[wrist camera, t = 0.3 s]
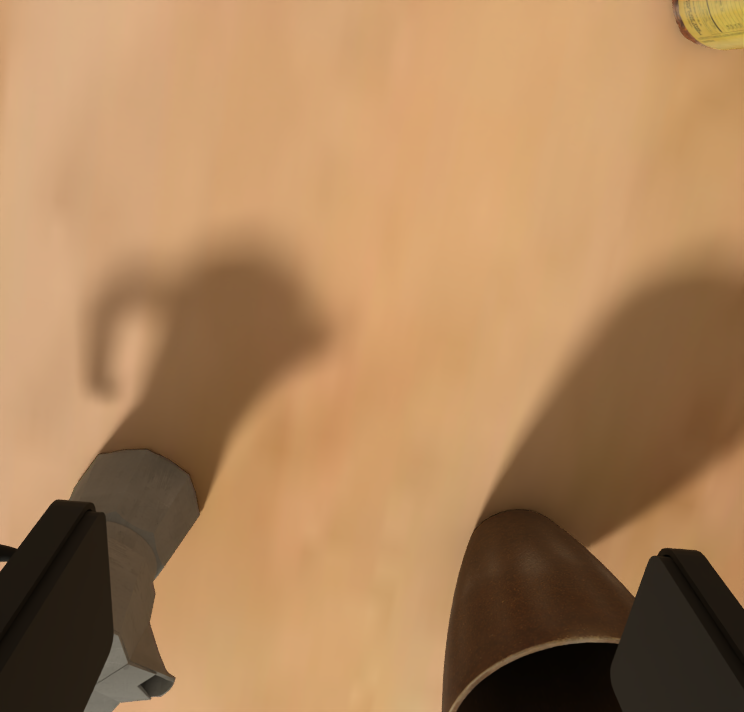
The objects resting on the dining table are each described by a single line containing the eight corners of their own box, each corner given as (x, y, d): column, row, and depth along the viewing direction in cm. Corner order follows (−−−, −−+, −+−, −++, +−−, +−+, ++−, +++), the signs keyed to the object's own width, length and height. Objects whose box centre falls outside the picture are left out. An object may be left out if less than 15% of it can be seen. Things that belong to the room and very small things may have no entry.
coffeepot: (238, 467, 46) (169, 679, 29) (214, 564, 49) (140, 804, 33) (23, 417, 44) (-182, 613, 27) (14, 522, 47) (-173, 753, 31)
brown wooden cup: (391, 593, 51) (404, 798, 36) (459, 443, 45) (506, 611, 31) (557, 634, 53) (633, 844, 38) (641, 495, 47) (767, 677, 33)
